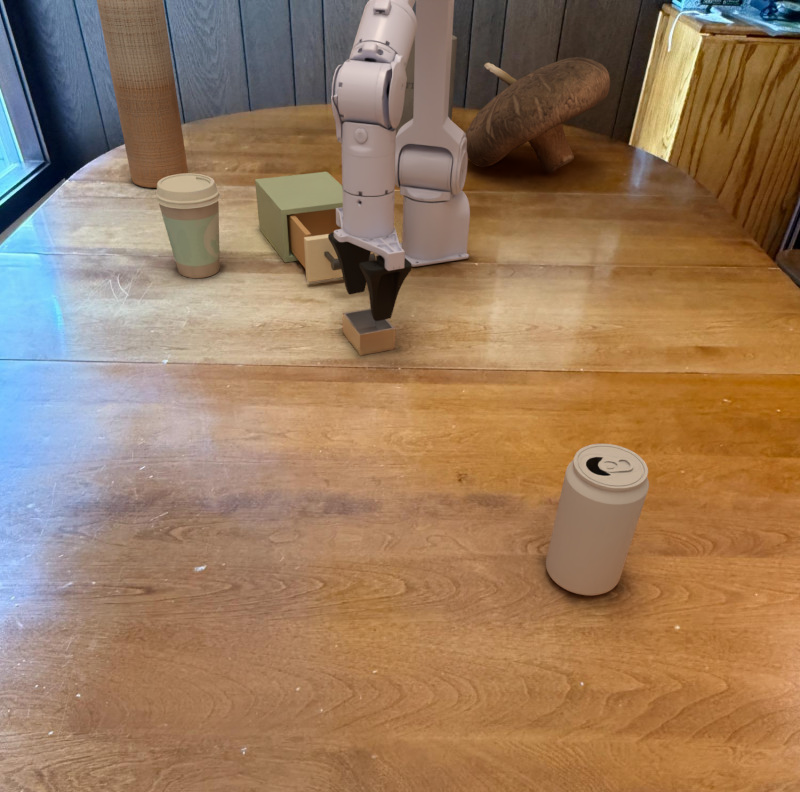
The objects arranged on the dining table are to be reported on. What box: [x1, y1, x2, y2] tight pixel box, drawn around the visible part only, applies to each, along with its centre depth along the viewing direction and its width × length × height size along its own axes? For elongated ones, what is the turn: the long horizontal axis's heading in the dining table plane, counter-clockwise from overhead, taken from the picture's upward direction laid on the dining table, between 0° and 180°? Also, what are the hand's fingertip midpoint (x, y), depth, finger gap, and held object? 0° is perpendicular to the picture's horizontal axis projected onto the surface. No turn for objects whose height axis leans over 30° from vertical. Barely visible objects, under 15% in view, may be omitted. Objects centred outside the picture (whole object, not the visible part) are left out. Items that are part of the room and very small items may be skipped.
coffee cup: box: [155, 172, 222, 279], centre depth 107 cm, size 8×8×12 cm
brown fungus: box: [465, 56, 611, 174], centre depth 143 cm, size 28×23×25 cm
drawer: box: [287, 209, 377, 283], centre depth 109 cm, size 17×10×6 cm, turn 23°
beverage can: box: [545, 443, 650, 596], centre depth 63 cm, size 6×6×12 cm
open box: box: [342, 307, 396, 356], centre depth 96 cm, size 5×6×3 cm
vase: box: [96, 0, 189, 189], centre depth 129 cm, size 10×10×28 cm
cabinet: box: [254, 171, 343, 263], centre depth 117 cm, size 14×12×8 cm
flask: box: [396, 34, 458, 135], centre depth 158 cm, size 15×6×20 cm, turn 92°
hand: (368, 305), depth 94 cm, fingers open, 7 cm apart
